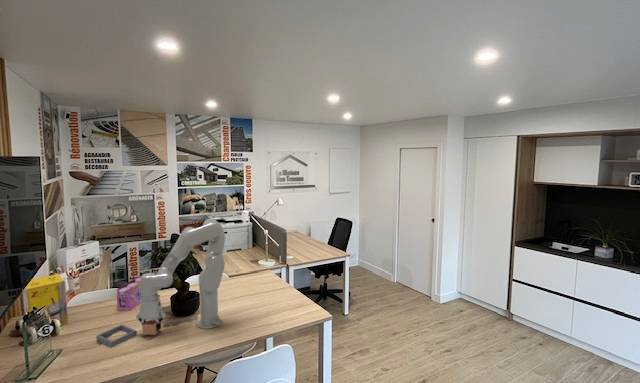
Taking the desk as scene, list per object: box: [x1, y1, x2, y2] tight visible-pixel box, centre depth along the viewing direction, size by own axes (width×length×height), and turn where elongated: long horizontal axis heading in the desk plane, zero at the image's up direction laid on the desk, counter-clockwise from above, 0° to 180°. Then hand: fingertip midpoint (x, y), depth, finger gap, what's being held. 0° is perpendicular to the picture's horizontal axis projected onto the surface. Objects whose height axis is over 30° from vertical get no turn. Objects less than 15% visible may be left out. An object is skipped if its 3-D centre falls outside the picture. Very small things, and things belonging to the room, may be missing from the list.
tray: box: [95, 324, 138, 348], centre depth 172 cm, size 13×13×4 cm
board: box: [137, 322, 165, 341], centre depth 176 cm, size 9×9×7 cm
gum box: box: [116, 275, 142, 312], centre depth 214 cm, size 24×8×14 cm, turn 176°
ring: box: [141, 319, 162, 335], centre depth 177 cm, size 6×8×5 cm
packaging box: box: [22, 273, 69, 326], centre depth 186 cm, size 16×16×25 cm
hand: (151, 329), depth 176 cm, fingers closed on ring, 6 cm apart
